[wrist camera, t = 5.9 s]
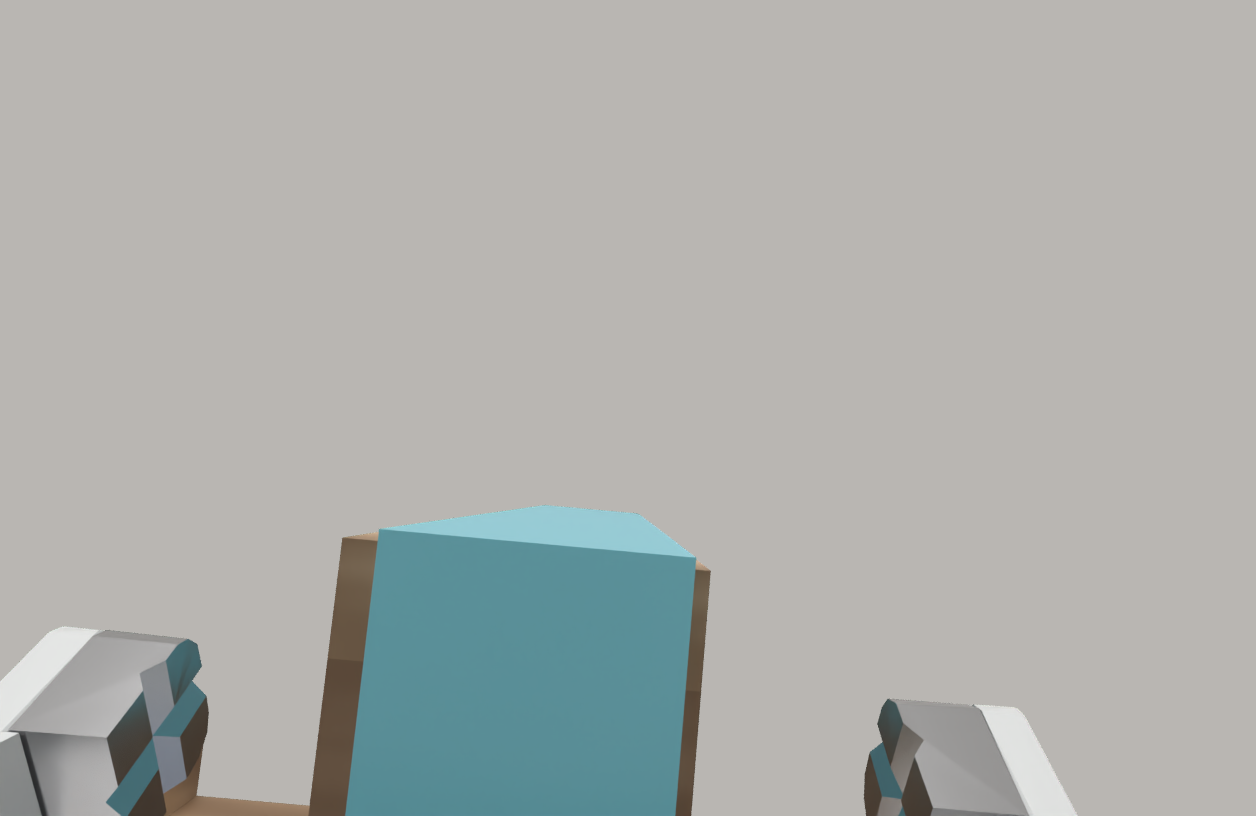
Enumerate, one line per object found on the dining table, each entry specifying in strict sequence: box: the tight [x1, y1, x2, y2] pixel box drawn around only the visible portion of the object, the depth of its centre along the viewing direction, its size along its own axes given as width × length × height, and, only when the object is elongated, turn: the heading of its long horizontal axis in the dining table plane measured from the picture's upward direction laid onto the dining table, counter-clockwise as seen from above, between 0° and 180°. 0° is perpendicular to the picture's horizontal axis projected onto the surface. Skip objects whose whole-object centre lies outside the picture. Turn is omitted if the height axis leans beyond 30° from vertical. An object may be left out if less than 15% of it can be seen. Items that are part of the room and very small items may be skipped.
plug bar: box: [345, 505, 696, 816], centre depth 19 cm, size 21×3×3 cm, turn 1°
